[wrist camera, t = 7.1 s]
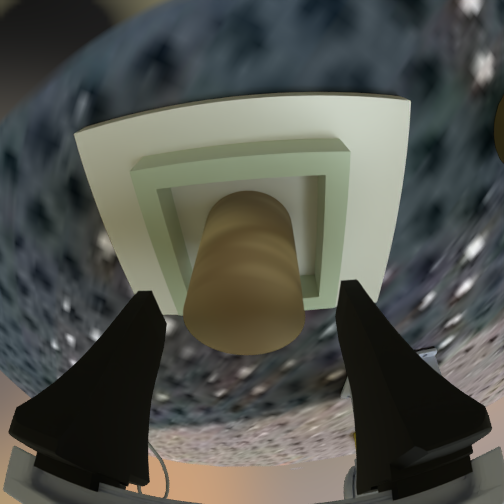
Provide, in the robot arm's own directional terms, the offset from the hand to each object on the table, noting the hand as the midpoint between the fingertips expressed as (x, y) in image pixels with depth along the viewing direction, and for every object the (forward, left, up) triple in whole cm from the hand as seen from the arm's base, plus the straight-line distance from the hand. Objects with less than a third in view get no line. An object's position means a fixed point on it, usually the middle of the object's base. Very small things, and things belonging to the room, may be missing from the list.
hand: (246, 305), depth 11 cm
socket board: (0, 0, -6) cm, 6 cm away
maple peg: (0, 0, -5) cm, 5 cm away
